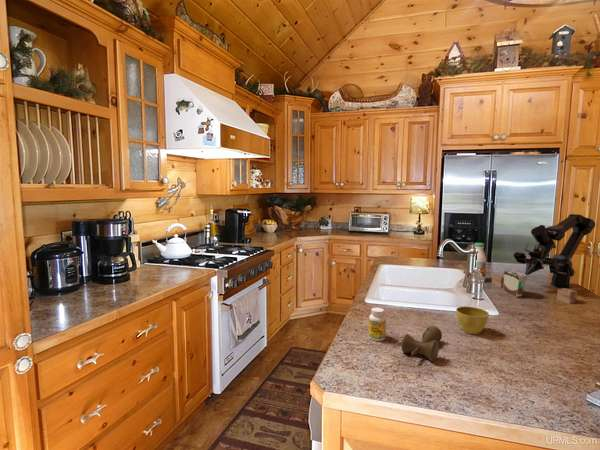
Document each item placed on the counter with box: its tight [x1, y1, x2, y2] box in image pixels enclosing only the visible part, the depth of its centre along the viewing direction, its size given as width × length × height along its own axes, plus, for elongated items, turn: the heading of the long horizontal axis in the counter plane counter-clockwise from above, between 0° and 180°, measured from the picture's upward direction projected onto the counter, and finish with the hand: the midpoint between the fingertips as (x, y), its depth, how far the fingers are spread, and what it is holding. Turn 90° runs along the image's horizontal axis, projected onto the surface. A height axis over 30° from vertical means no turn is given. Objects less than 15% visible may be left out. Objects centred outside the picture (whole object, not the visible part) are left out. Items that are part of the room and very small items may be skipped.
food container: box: [502, 270, 528, 299], centre depth 161 cm, size 12×6×10 cm, turn 2°
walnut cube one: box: [491, 273, 504, 288], centre depth 176 cm, size 5×5×5 cm
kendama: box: [401, 325, 443, 363], centre depth 105 cm, size 6×10×20 cm
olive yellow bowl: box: [455, 306, 490, 335], centre depth 120 cm, size 10×10×7 cm
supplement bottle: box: [368, 307, 387, 342], centre depth 114 cm, size 5×5×10 cm
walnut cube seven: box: [556, 288, 578, 305], centre depth 152 cm, size 5×5×5 cm
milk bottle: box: [473, 242, 487, 282], centre depth 184 cm, size 8×8×20 cm
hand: (526, 274), depth 163 cm, fingers closed
